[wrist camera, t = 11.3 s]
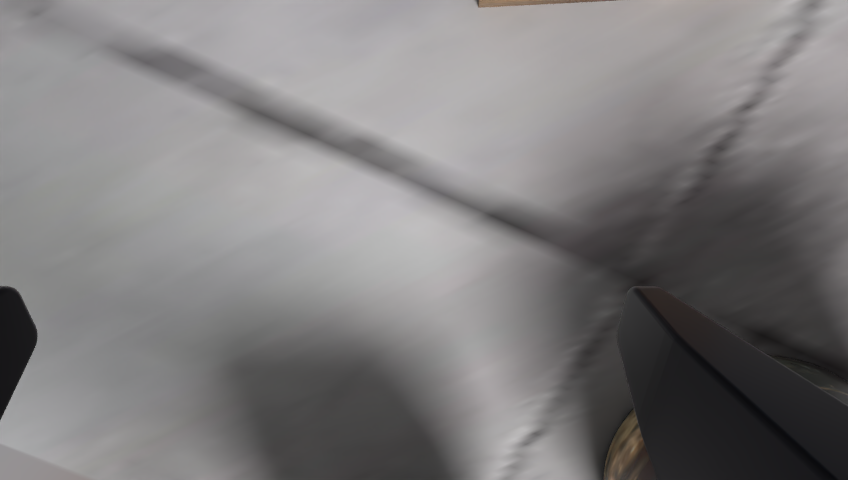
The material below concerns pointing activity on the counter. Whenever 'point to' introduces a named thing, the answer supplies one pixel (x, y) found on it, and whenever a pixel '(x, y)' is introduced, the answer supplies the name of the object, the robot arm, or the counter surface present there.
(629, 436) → the jar
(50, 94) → the counter surface
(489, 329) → the counter surface
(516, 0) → the walnut block
